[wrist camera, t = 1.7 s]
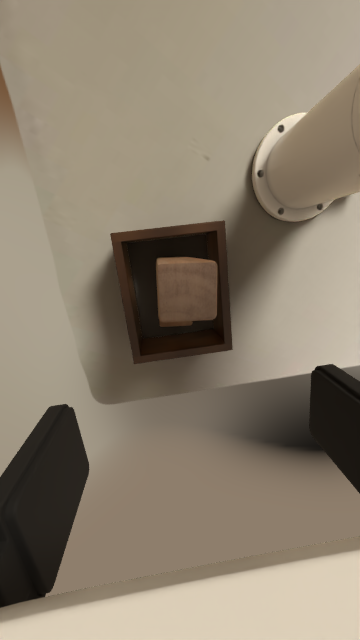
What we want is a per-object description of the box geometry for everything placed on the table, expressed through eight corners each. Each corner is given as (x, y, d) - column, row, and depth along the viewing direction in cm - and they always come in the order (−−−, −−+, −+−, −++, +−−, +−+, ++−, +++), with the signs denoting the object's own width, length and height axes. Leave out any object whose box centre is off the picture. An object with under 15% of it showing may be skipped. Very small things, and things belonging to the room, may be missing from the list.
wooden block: (188, 317, 37) (217, 374, 20) (159, 319, 37) (161, 378, 20) (187, 256, 35) (218, 260, 17) (155, 257, 34) (155, 262, 17)
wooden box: (211, 226, 34) (224, 220, 27) (219, 333, 38) (232, 349, 32) (119, 237, 33) (110, 233, 27) (138, 344, 38) (134, 364, 31)
